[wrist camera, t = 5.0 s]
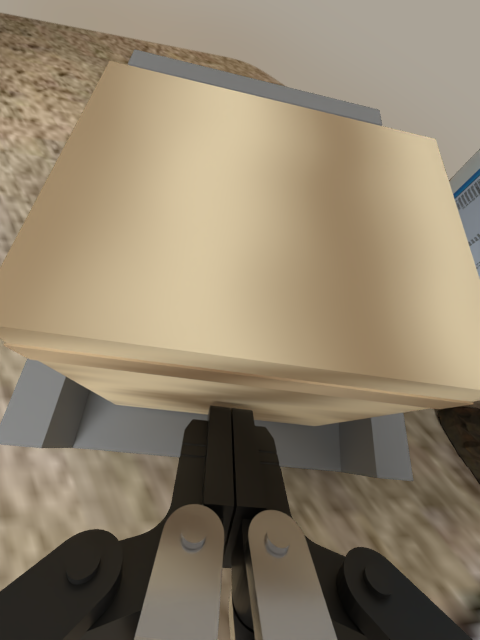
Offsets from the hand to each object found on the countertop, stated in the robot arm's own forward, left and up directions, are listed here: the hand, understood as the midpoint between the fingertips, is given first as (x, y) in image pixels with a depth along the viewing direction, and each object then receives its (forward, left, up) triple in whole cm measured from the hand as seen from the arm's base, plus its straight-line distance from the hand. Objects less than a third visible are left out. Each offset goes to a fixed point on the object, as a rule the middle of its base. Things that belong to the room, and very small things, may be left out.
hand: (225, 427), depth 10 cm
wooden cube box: (0, +5, -4) cm, 6 cm away
